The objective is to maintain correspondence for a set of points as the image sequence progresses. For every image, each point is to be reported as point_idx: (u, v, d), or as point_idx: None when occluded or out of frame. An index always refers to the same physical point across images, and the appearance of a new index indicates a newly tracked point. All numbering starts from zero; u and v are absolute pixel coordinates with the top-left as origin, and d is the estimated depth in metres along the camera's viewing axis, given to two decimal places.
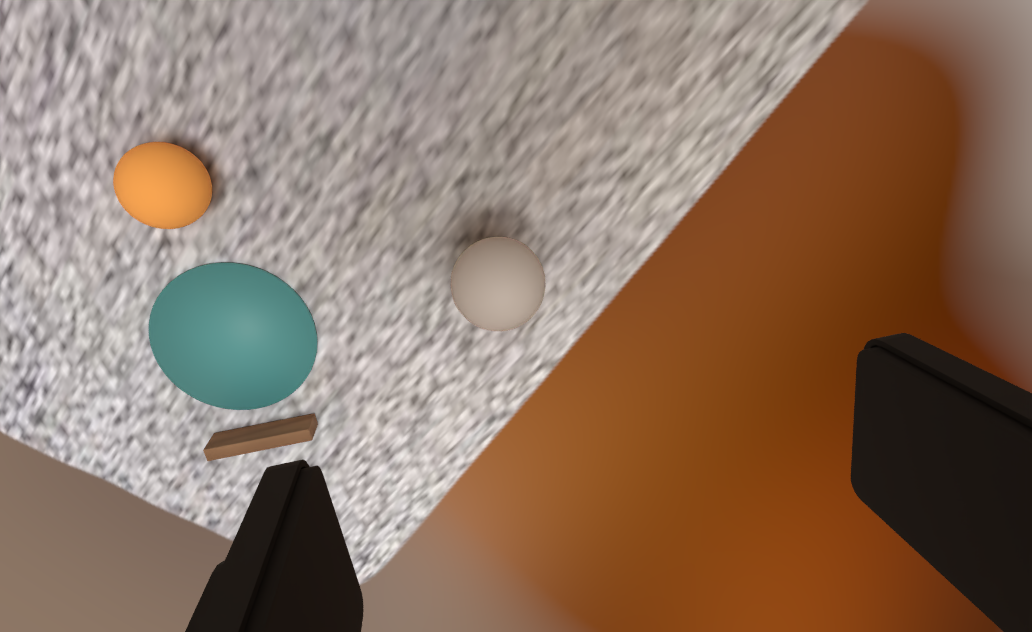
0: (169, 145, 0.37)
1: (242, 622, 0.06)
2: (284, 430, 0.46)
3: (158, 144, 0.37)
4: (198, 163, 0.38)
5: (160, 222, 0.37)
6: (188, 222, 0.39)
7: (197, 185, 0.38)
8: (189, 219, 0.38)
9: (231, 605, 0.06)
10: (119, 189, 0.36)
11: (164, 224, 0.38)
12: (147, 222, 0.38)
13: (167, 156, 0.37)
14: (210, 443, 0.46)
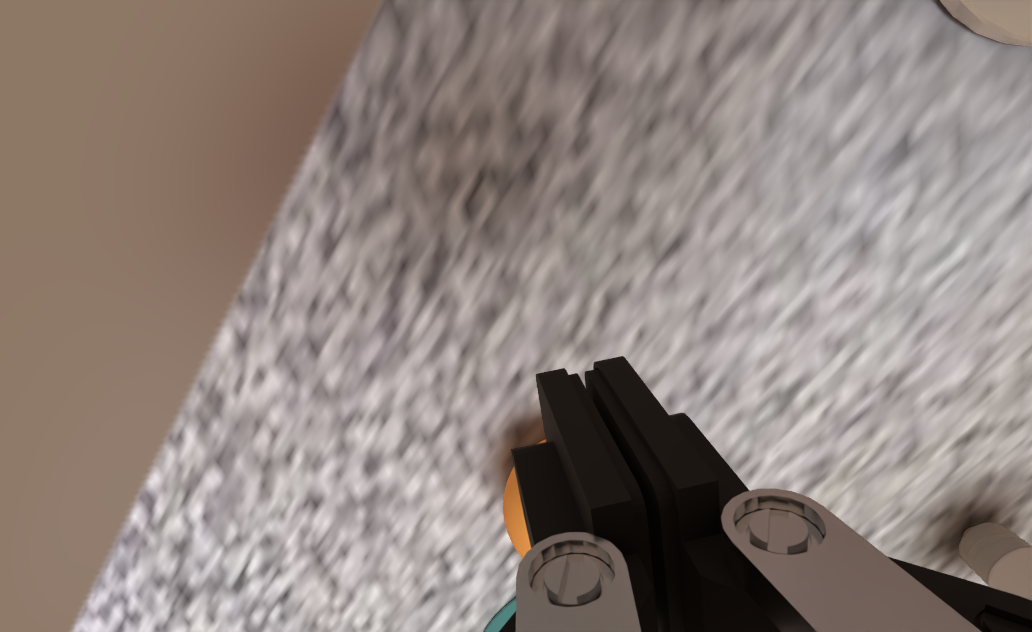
0: None
1: (613, 464, 0.08)
2: None
3: None
4: None
5: None
6: None
7: None
8: None
9: (593, 456, 0.08)
10: None
11: None
12: None
13: None
14: None
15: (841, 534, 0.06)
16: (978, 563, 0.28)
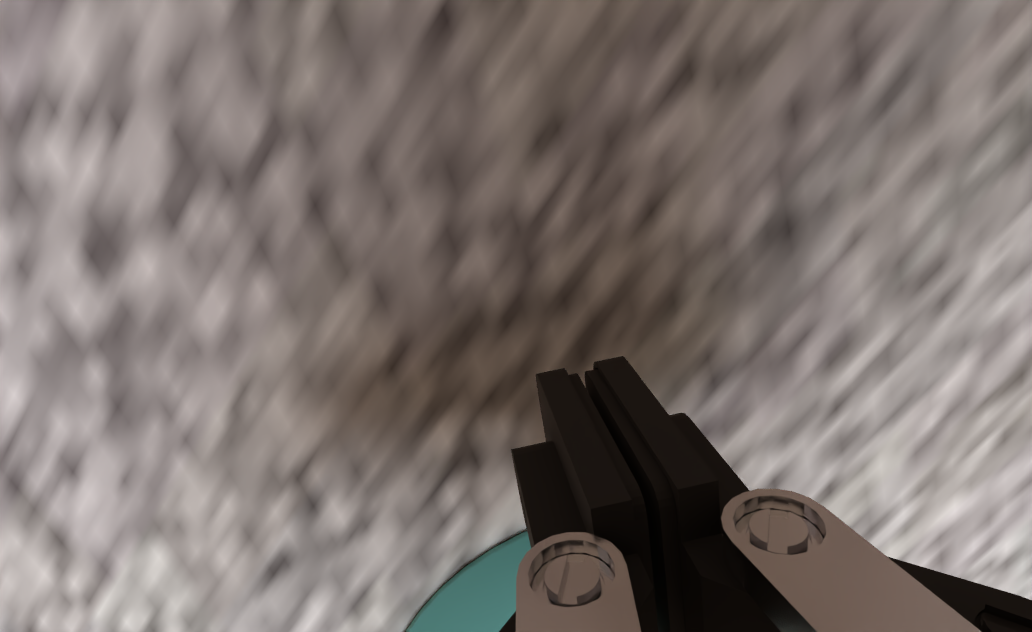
0: None
1: (614, 465, 0.08)
2: None
3: None
4: None
5: None
6: None
7: None
8: None
9: (593, 456, 0.08)
10: None
11: None
12: None
13: None
14: None
15: (841, 534, 0.06)
16: None
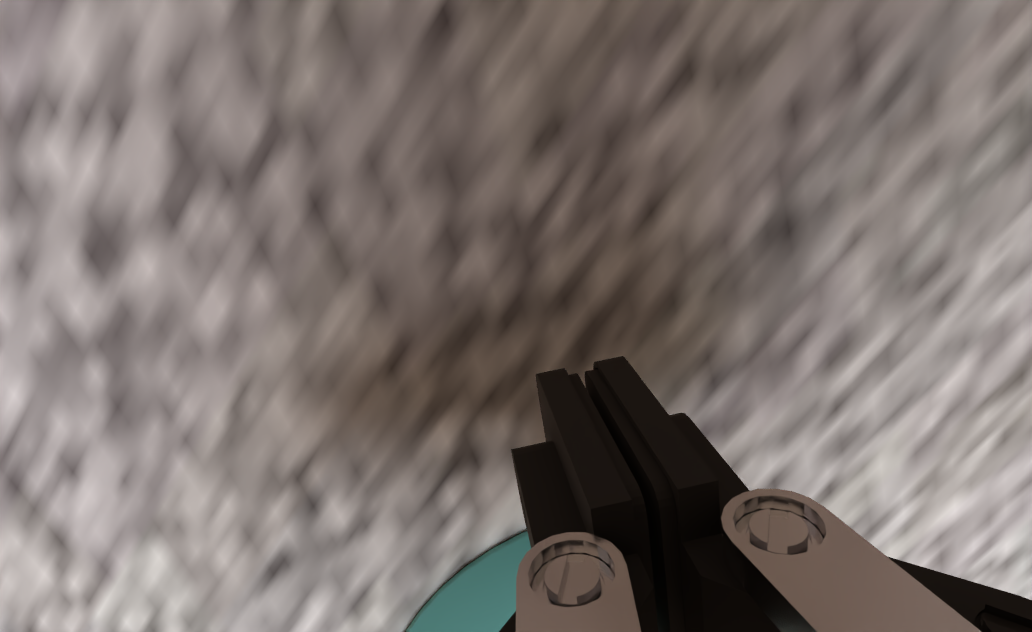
0: None
1: (614, 465, 0.08)
2: None
3: None
4: None
5: None
6: None
7: None
8: None
9: (593, 456, 0.08)
10: None
11: None
12: None
13: None
14: None
15: (841, 534, 0.06)
16: None
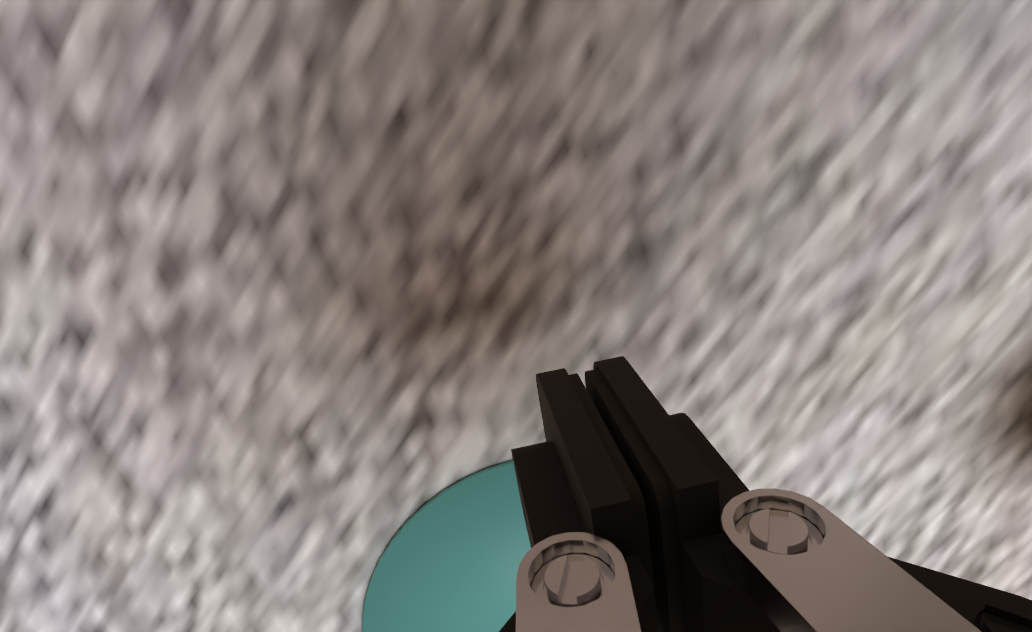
0: None
1: (614, 465, 0.08)
2: None
3: None
4: None
5: None
6: None
7: None
8: None
9: (594, 456, 0.08)
10: None
11: None
12: None
13: None
14: None
15: (841, 534, 0.06)
16: None
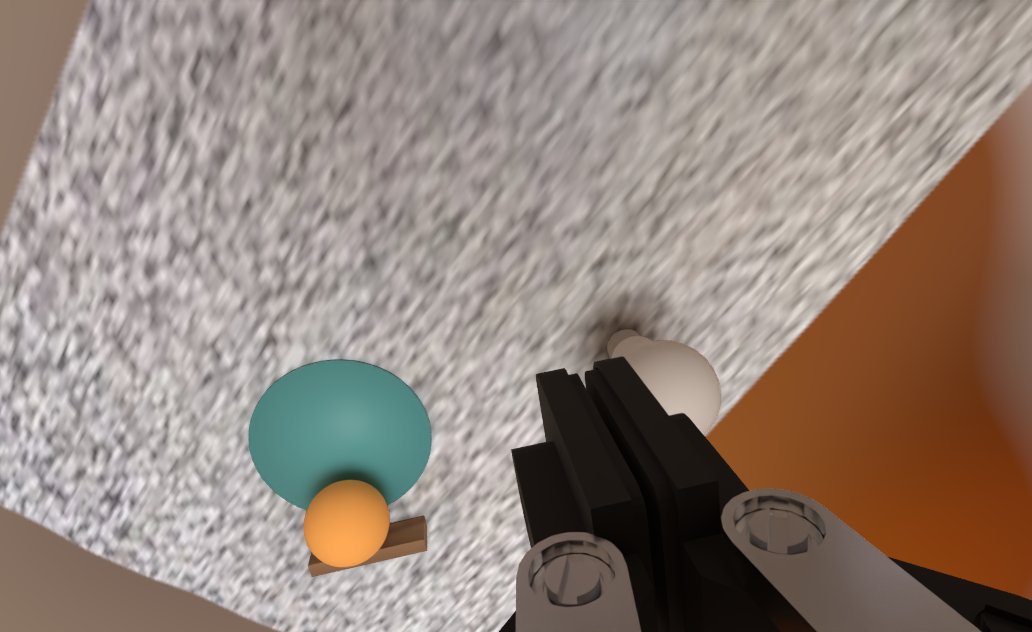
0: (359, 484, 0.39)
1: (614, 465, 0.08)
2: (395, 540, 0.42)
3: (350, 484, 0.39)
4: (382, 499, 0.40)
5: (344, 563, 0.38)
6: (367, 559, 0.39)
7: (381, 523, 0.39)
8: (369, 557, 0.39)
9: (593, 456, 0.08)
10: (312, 532, 0.37)
11: (346, 565, 0.38)
12: (331, 563, 0.38)
13: (359, 497, 0.38)
14: (313, 555, 0.41)
15: (841, 534, 0.06)
16: (611, 354, 0.39)
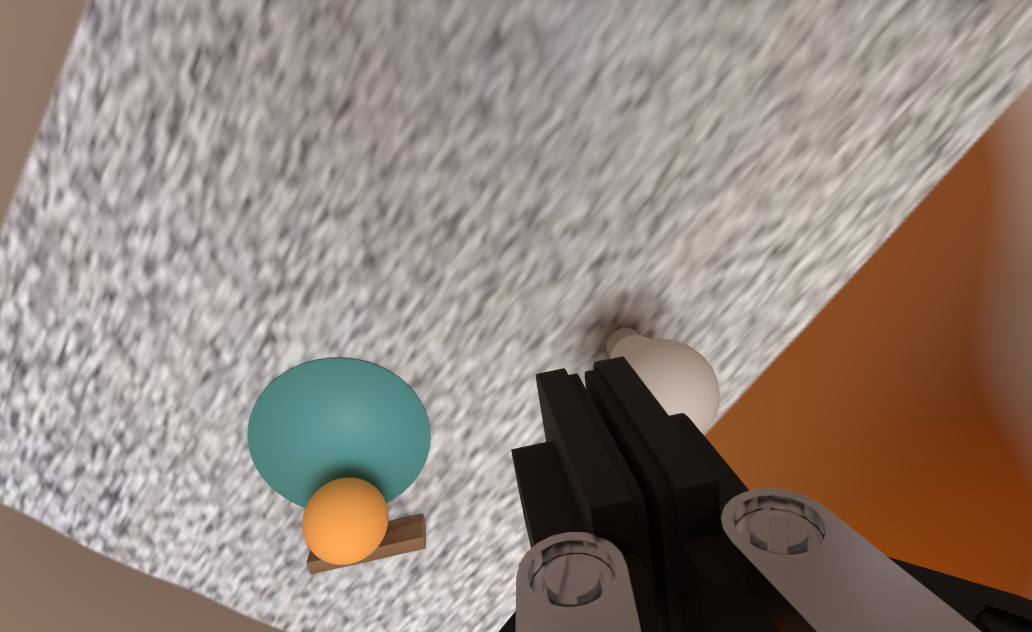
0: (357, 481, 0.39)
1: (614, 465, 0.08)
2: (394, 537, 0.42)
3: (348, 482, 0.39)
4: (381, 497, 0.40)
5: (343, 560, 0.38)
6: (365, 557, 0.39)
7: (380, 521, 0.39)
8: (368, 554, 0.39)
9: (594, 456, 0.08)
10: (310, 530, 0.37)
11: (345, 562, 0.38)
12: (330, 561, 0.38)
13: (358, 495, 0.38)
14: (312, 553, 0.41)
15: (841, 534, 0.06)
16: (610, 353, 0.39)
